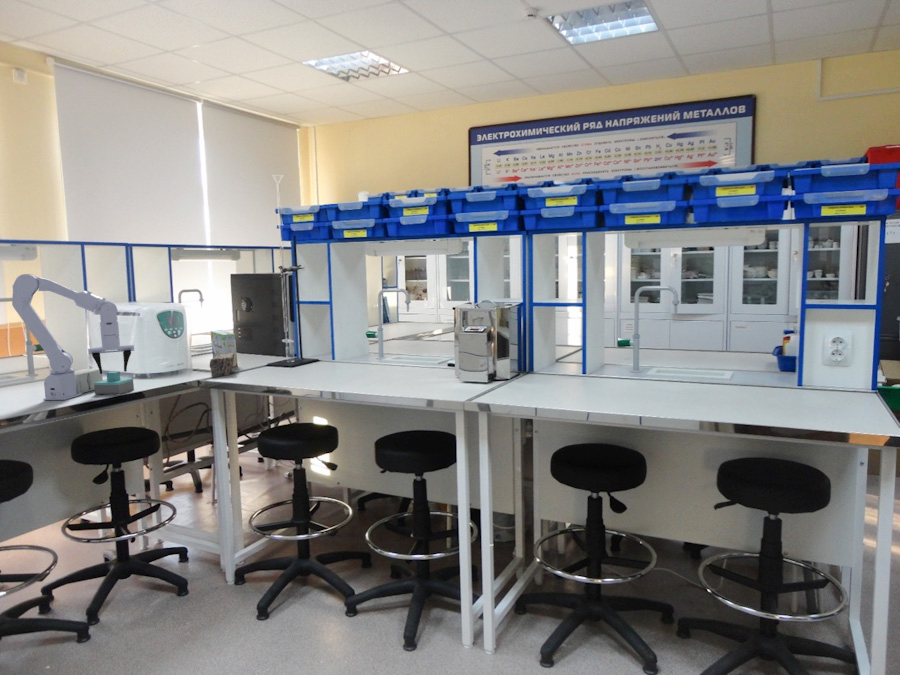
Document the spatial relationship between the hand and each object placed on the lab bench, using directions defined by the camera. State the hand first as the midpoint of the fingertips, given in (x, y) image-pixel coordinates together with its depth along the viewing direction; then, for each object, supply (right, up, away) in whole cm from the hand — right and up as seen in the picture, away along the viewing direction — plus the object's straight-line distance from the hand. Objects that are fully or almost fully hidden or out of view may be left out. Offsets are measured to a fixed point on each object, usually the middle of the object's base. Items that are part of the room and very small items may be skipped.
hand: (113, 372), depth 228 cm
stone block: (+27, -3, +37) cm, 46 cm away
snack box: (+18, 0, +63) cm, 65 cm away
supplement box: (-12, -3, +11) cm, 16 cm away
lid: (0, -4, 0) cm, 4 cm away
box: (0, -7, +1) cm, 7 cm away
